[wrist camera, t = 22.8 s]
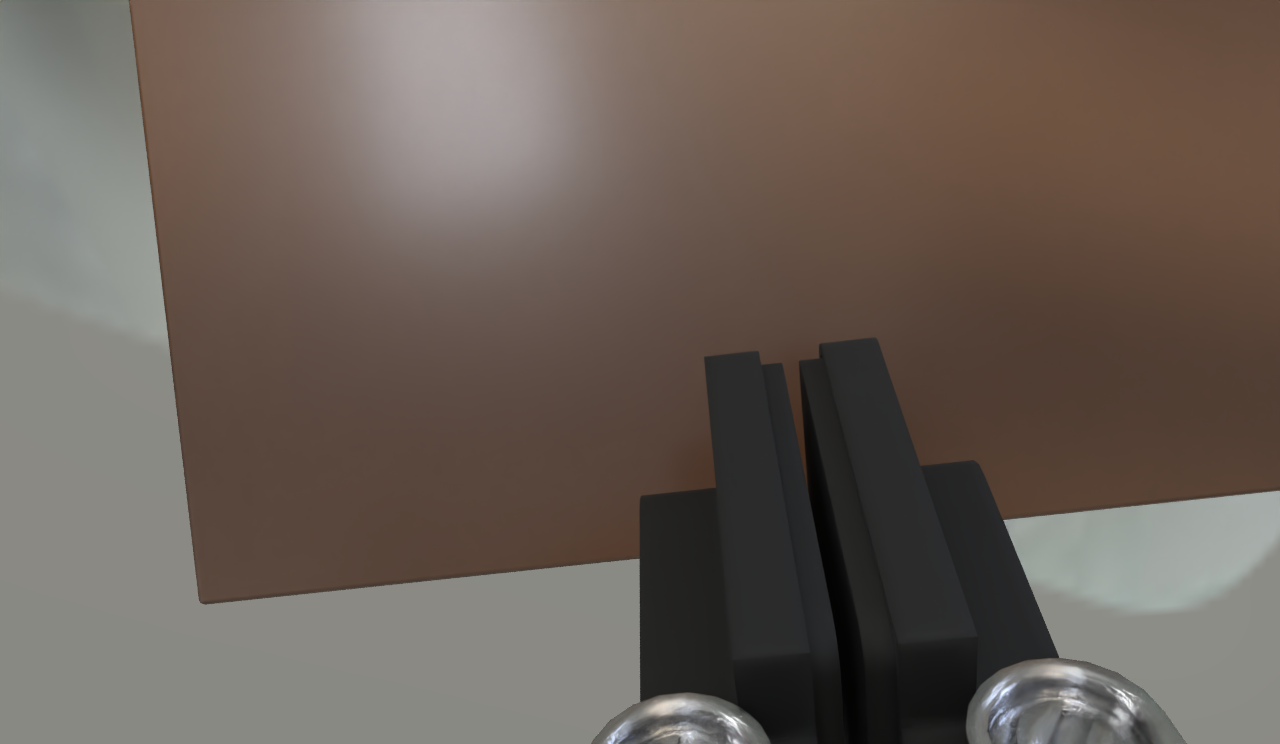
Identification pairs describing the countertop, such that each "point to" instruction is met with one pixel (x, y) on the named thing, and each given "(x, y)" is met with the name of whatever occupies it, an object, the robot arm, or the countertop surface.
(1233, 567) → the countertop surface
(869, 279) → the chest lid
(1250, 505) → the countertop surface
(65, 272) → the countertop surface
